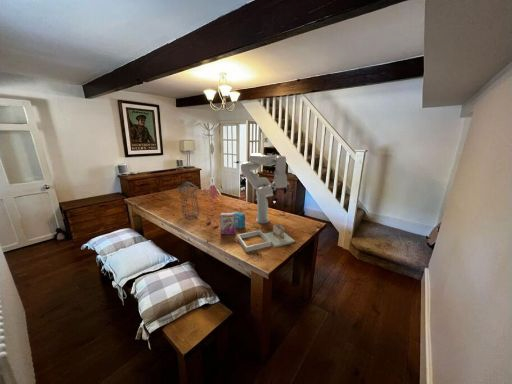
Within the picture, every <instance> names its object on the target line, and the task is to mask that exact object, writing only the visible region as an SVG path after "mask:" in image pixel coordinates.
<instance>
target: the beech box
mask: <svg viewBox="0 0 512 384" xmlns="http://www.w3.org/2000/svg"><path fill="white" fill-rule="evenodd" d="M285 231H286V229H285V228H284V227H283V226H282V225H280V224H274V225H273V226H272V232H273V236H275V237H276V238H277V239H278V240H280V239H284V234H285V233H286V232H285Z"/></svg>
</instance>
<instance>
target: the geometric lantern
mask: <svg viewBox="0 0 512 384" xmlns="http://www.w3.org/2000/svg"><path fill="white" fill-rule="evenodd" d="M191 186H192V187H193V188H192V187H191ZM199 188H200V187H198V186H197V185H195V184H193V183H191V182H189V181H184V182H183V183H182V184H181V185H179V186H177V187H176V189H177V190H178V191H179V193H180V194H181V195H180V200H181V201H180V202H182V205H181V213H182V214H183V216H184V217H185V218H186V219H188V220H190V219H191V220H193V219H196V218H198V215H200V208H199V203H198V201H197V200H198V198H197V197H198V196H197V194H196V193H195V192H196V191H197V190H198V189H199ZM184 193H186V194H184ZM185 195H186V197H184V196H185ZM189 195H191V196H190V197H188V196H189ZM187 199H192V200H191V206H192V209H189V207H188V201H187ZM193 203H194V204H193ZM185 205H186V208H185ZM194 205H195V206H194ZM186 209H187V210H186ZM190 211H193V212H191V213H189V212H190ZM195 212H197V213H195ZM191 214H192V215H191ZM193 217H194V218H193ZM191 220H190V221H191Z"/></svg>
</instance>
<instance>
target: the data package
mask: <svg viewBox="0 0 512 384" xmlns="http://www.w3.org/2000/svg"><path fill="white" fill-rule="evenodd" d="M232 213H235V228H237V229H244V228H245V227H246V214H245V213H244V212H238V211H233V212H232Z"/></svg>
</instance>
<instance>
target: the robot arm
mask: <svg viewBox="0 0 512 384" xmlns="http://www.w3.org/2000/svg"><path fill="white" fill-rule="evenodd" d="M261 166H275V170H274V171H273V173H274V176H273V182H272V183H271V182H270V180H269V178H267V177H258V176H257V175H256V174H255V173H254V172H253V171H257V170H259V169H260V167H261ZM286 167H287V157H286V156H285V155H279V154H272V155H271V154H269V155H265V154H264V153H262V152H254V153H253V152H252V153H251V154H250V155H249V156H248V161H245V162H242V163H241V165H240V171H241V174H242V175H243V176H244V177H245V178H246V180H247V181H248V182H249V183H250V185H251V186H252V188H253V189H255V190H256V192H255V195H256V202H257V203H256V205H257V207H256V218H255V222H256V223H258V224H267V223H269V222H270V218H269V201H268V199H267V198H268V197H272V196H276V195H277V194H276V192H277V191H276V190H277V189H281V188H283V193H284V194H285V195H286V194H287V192H288V188H289V187H290V184H291V182H289V181H288V177H287V174H286V169H287V168H286Z"/></svg>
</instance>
